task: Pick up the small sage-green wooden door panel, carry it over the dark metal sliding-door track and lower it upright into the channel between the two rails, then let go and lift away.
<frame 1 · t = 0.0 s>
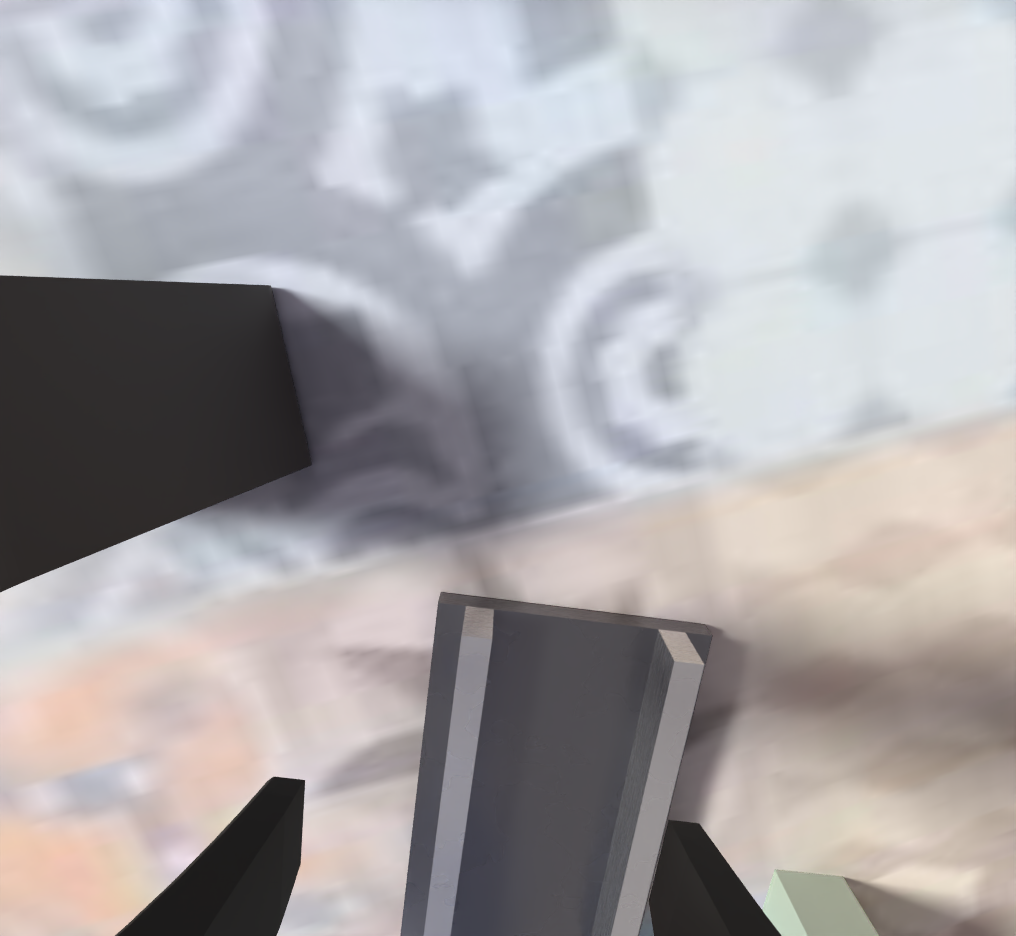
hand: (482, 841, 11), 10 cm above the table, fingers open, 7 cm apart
track: (542, 785, 23), on the table
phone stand: (170, 395, 19), on the table
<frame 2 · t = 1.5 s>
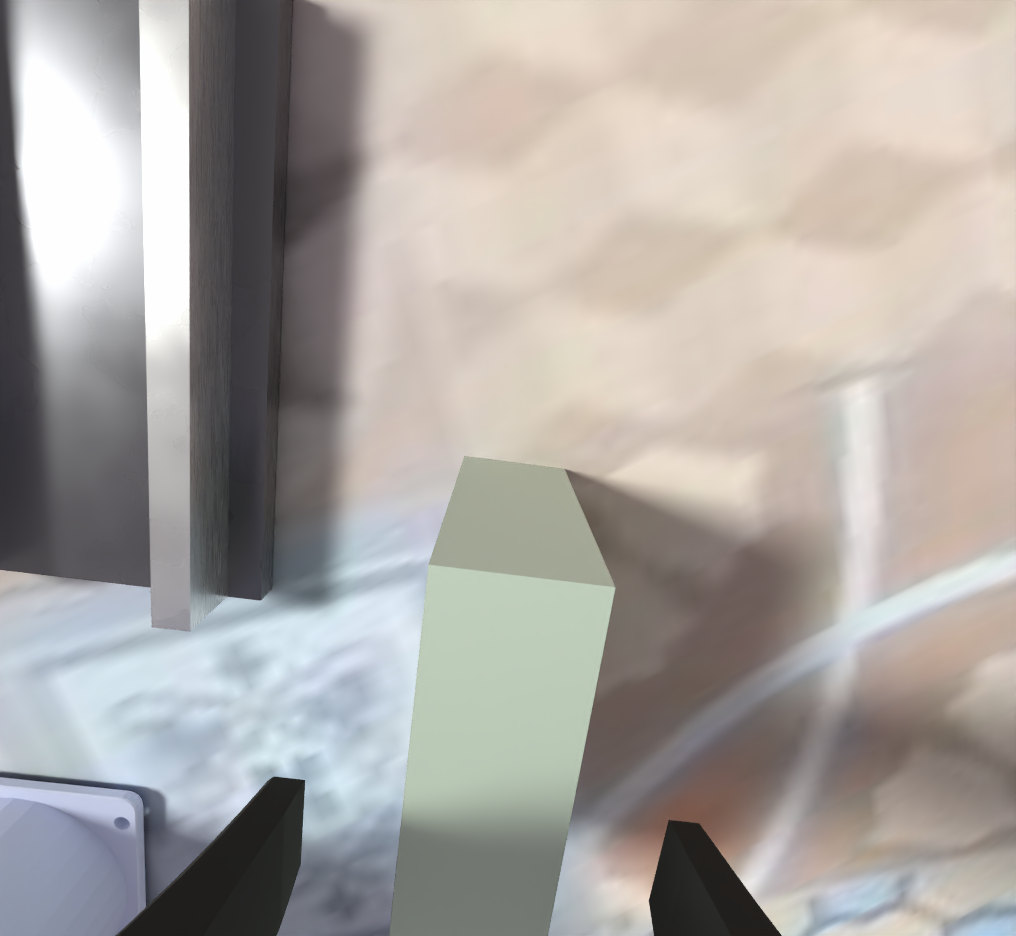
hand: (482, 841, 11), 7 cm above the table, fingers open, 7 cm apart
door panel: (489, 640, 18), on the table
track: (99, 302, 15), on the table
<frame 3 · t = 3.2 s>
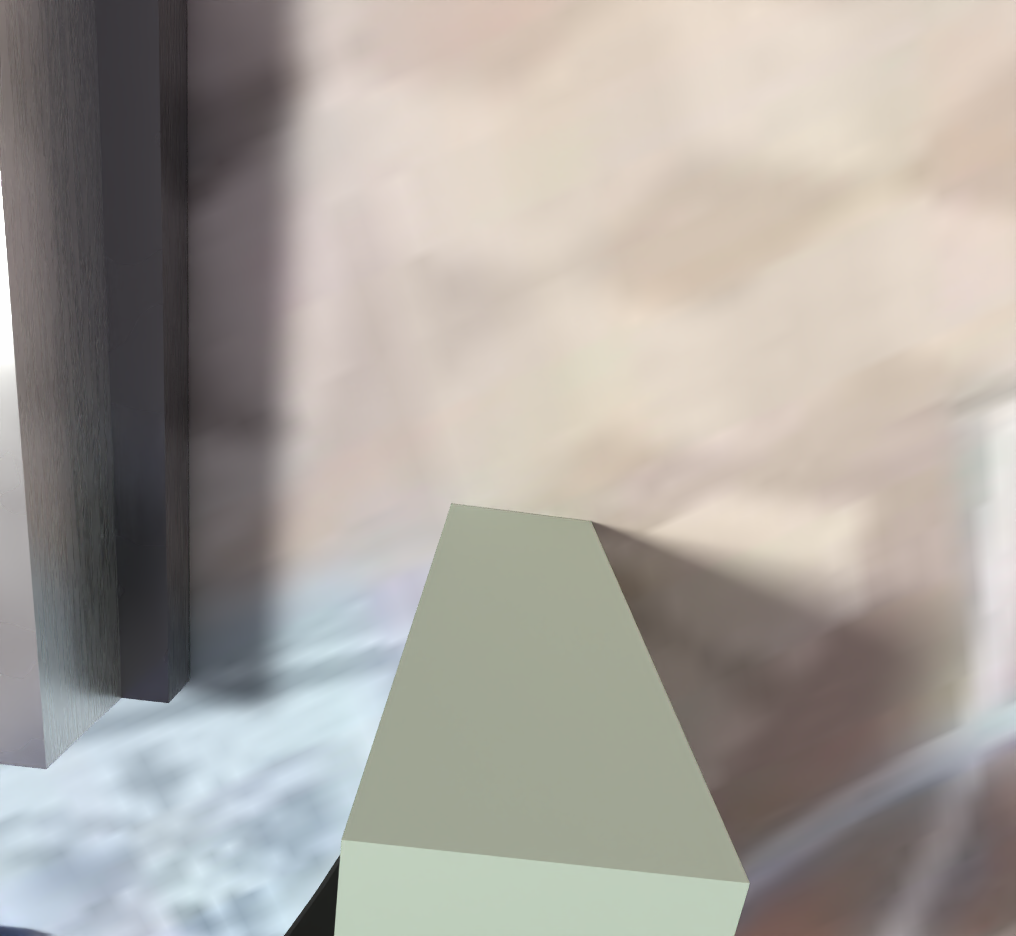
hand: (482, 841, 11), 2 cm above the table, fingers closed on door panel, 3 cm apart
door panel: (486, 750, 13), on the table, touching gripper
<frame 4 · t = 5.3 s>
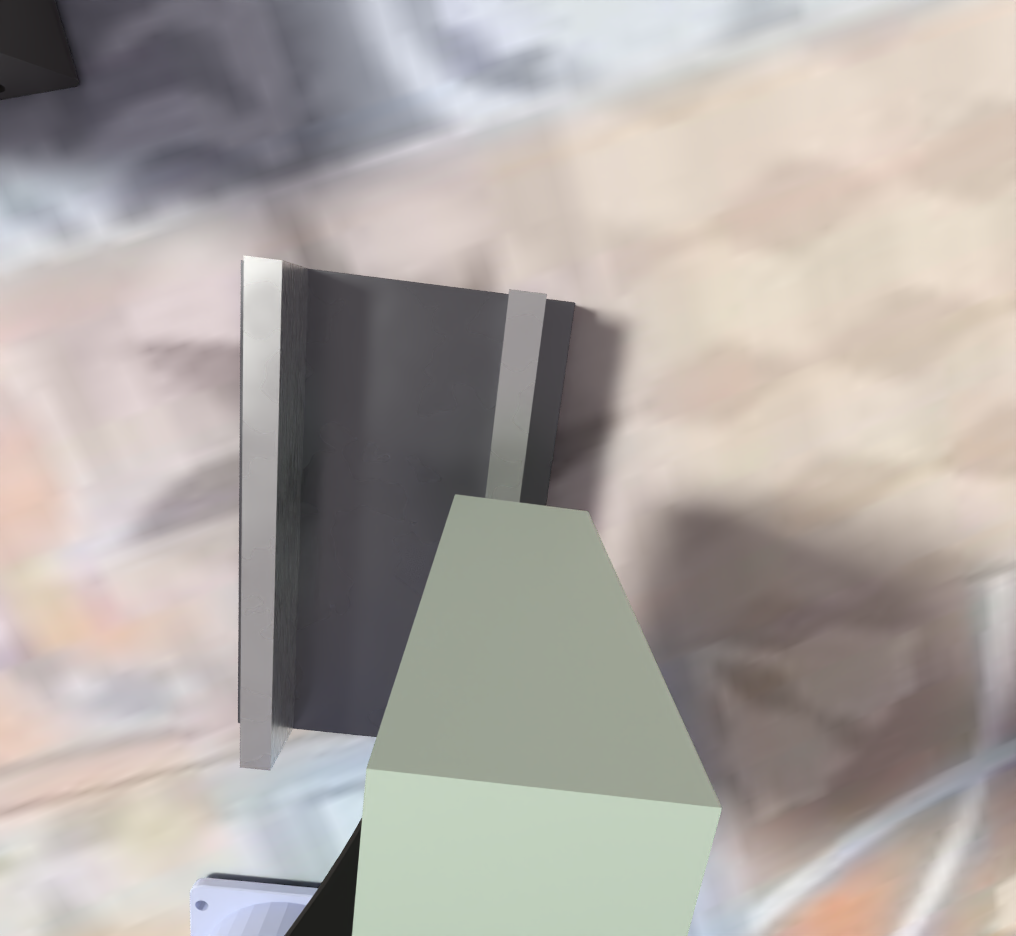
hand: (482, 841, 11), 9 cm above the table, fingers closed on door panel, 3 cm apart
door panel: (488, 731, 14), point 6 cm above the table, touching gripper
track: (395, 524, 19), on the table
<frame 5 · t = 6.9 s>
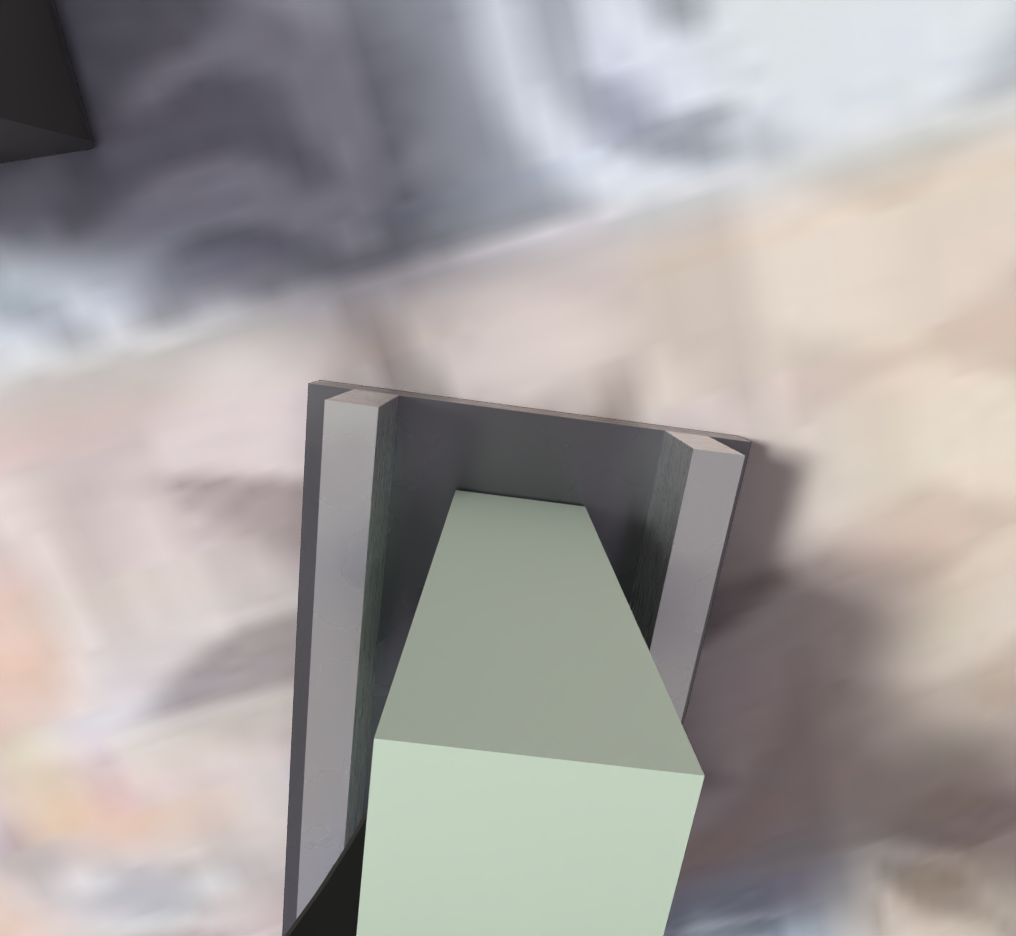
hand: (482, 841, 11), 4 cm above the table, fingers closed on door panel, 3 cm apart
door panel: (488, 721, 14), point 1 cm above the table, touching gripper
track: (489, 699, 15), on the table
when the fingers open (4 cm above the table, at t = 7.8 s): door panel stays where it is, resting on track.
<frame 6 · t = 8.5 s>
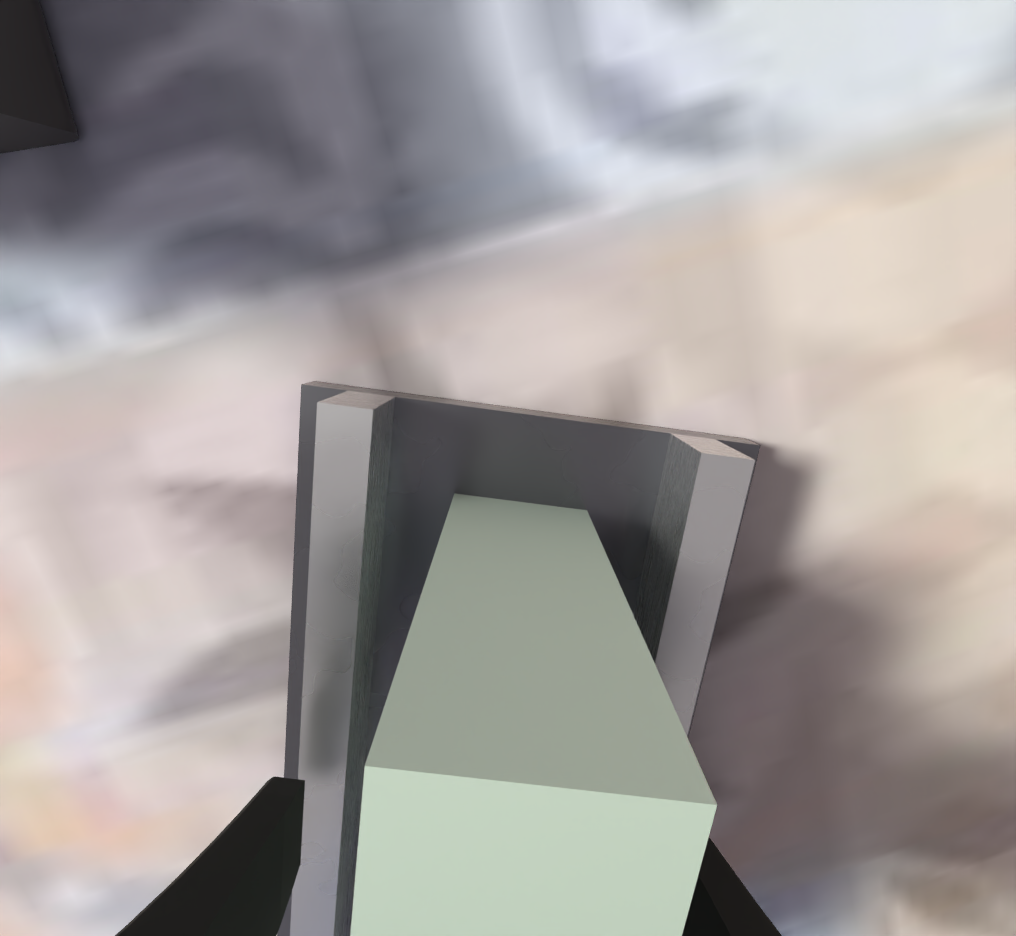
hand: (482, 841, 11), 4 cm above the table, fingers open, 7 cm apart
door panel: (487, 729, 14), point 1 cm above the table, touching track
track: (489, 709, 15), on the table
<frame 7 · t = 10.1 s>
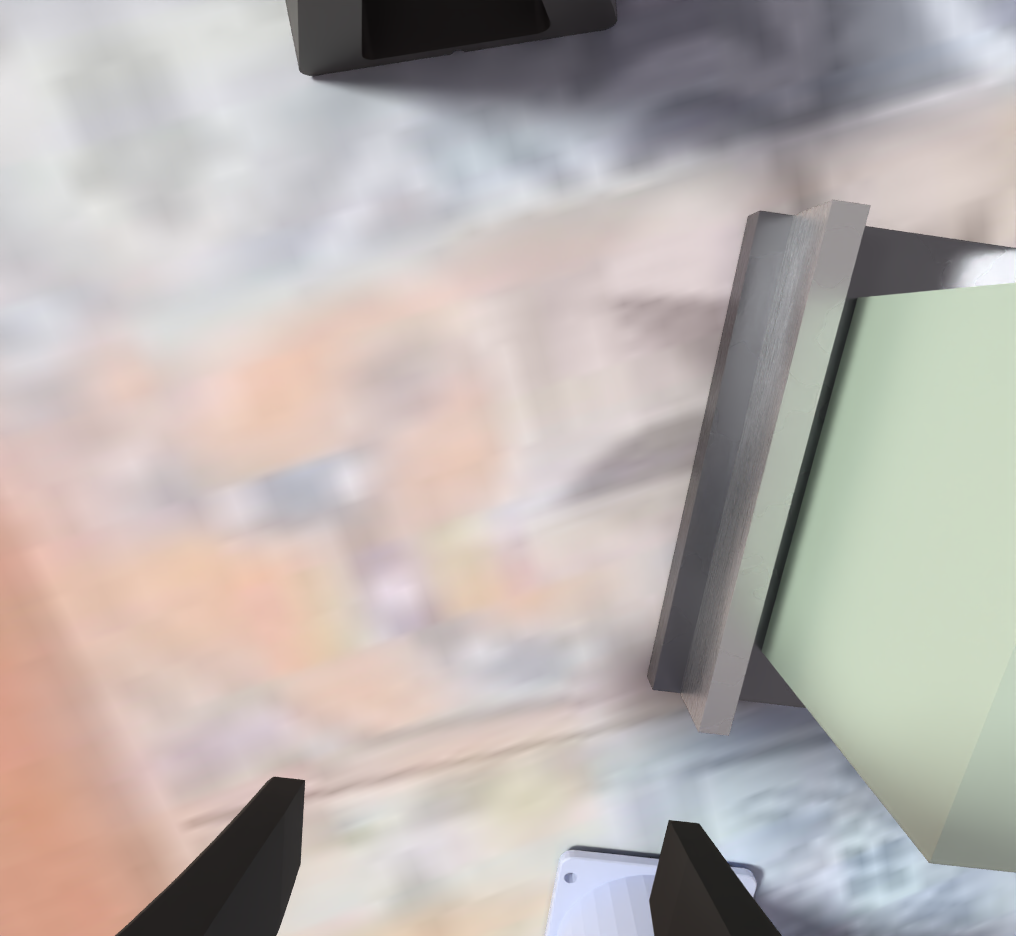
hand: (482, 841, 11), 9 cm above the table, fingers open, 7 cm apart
door panel: (850, 494, 18), point 1 cm above the table, touching track
track: (836, 488, 19), on the table
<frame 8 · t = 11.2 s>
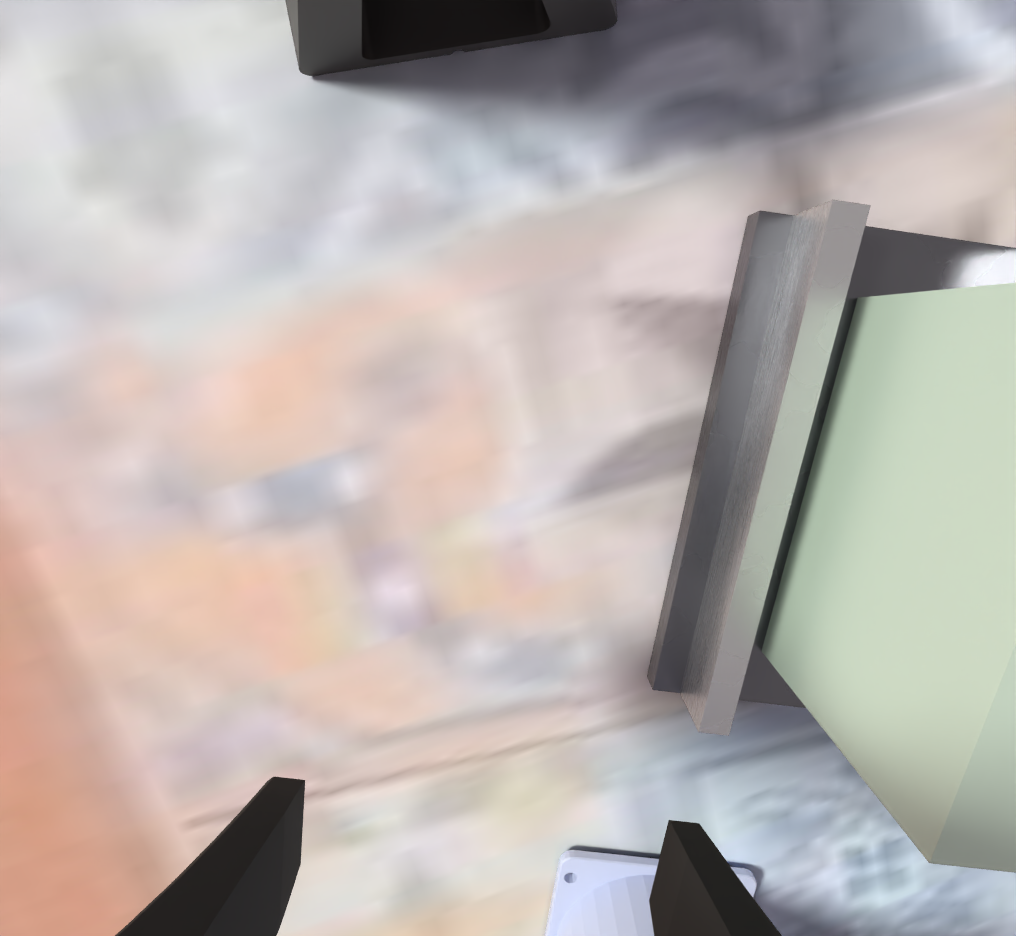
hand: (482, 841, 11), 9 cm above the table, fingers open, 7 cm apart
door panel: (850, 494, 18), point 1 cm above the table, touching track
track: (836, 488, 19), on the table
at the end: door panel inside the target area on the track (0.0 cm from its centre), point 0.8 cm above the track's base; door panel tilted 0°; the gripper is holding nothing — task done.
